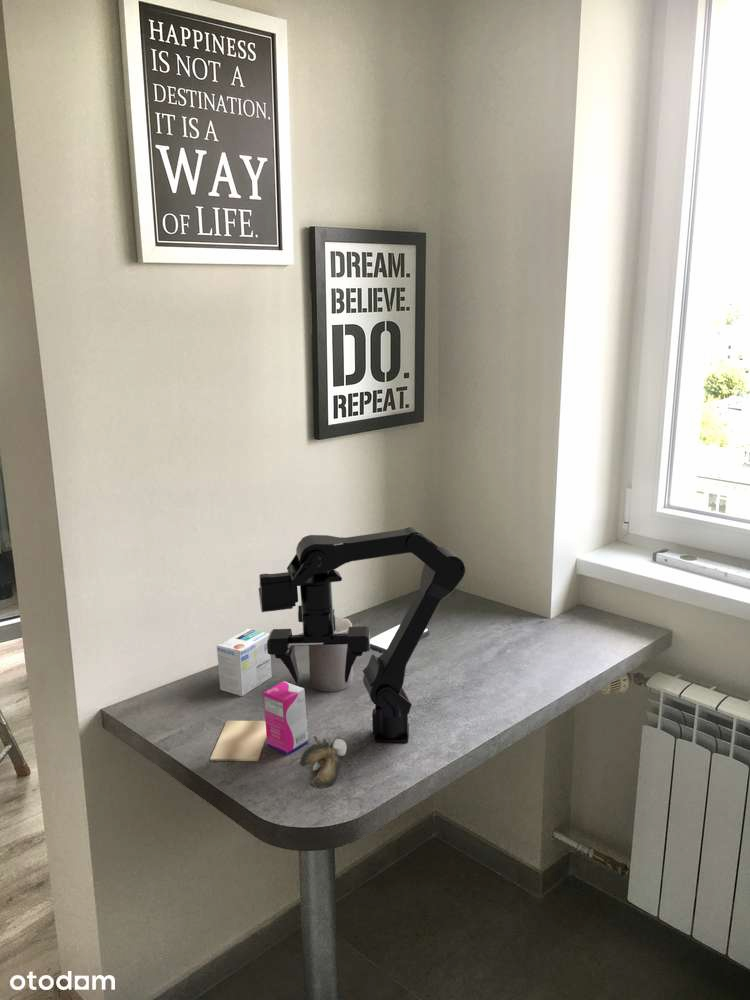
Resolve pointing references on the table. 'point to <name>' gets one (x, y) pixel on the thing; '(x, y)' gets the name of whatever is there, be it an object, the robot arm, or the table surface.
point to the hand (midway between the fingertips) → (321, 682)
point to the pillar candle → (330, 662)
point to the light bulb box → (244, 662)
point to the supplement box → (285, 717)
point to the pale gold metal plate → (240, 741)
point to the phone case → (388, 639)
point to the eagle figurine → (324, 761)
